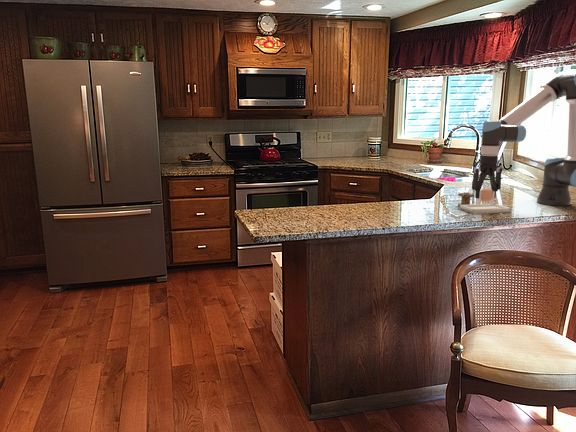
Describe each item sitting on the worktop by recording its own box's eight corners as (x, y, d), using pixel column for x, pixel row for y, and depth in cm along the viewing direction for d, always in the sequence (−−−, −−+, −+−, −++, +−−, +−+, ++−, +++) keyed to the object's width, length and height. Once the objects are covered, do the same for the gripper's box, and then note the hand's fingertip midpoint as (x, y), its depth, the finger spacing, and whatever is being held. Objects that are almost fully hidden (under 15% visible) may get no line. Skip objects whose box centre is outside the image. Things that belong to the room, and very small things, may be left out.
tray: (495, 207, 237) (495, 203, 236) (510, 212, 225) (511, 208, 225) (459, 208, 233) (459, 204, 233) (472, 213, 222) (473, 209, 221)
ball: (487, 199, 232) (487, 187, 230) (495, 201, 226) (495, 188, 225) (476, 201, 231) (476, 188, 229) (483, 203, 225) (483, 190, 224)
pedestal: (467, 204, 244) (468, 192, 243) (475, 207, 237) (476, 194, 236) (455, 205, 242) (455, 192, 241) (462, 207, 236) (463, 195, 234)
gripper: (502, 154, 229) (498, 202, 234) (465, 154, 226) (461, 204, 231) (512, 155, 222) (507, 205, 227) (474, 156, 219) (470, 207, 223)
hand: (484, 204), depth 229 cm, fingers closed on ball, 6 cm apart
